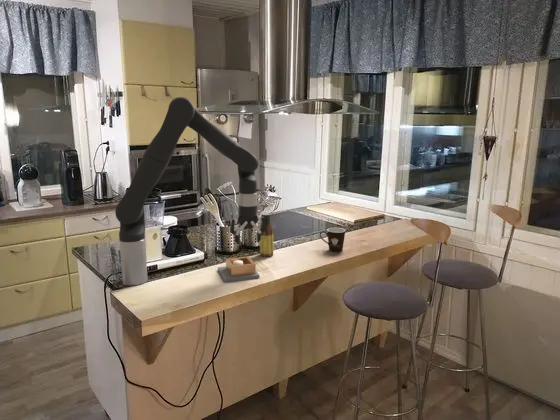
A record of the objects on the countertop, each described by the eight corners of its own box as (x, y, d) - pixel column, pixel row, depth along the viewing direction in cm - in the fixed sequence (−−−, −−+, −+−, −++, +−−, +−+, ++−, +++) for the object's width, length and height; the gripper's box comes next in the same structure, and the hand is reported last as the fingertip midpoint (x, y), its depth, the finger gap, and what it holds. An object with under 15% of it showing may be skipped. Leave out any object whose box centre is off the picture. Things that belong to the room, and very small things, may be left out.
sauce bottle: (266, 252, 206) (266, 211, 201) (276, 254, 202) (276, 213, 197) (256, 255, 201) (256, 213, 196) (267, 258, 197) (266, 215, 192)
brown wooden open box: (231, 276, 172) (231, 267, 171) (226, 268, 181) (225, 259, 180) (255, 273, 175) (255, 264, 174) (249, 265, 184) (248, 256, 183)
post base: (224, 282, 169) (224, 269, 168) (218, 270, 182) (217, 258, 181) (259, 277, 174) (259, 265, 173) (250, 266, 187) (250, 254, 186)
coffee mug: (348, 250, 209) (349, 230, 207) (337, 254, 203) (338, 233, 201) (328, 245, 217) (329, 225, 215) (318, 248, 211) (318, 229, 208)
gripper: (232, 206, 167) (232, 246, 171) (267, 204, 172) (267, 244, 175) (228, 202, 174) (228, 241, 178) (262, 201, 179) (261, 238, 182)
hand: (247, 242), depth 177 cm, fingers open, 8 cm apart
